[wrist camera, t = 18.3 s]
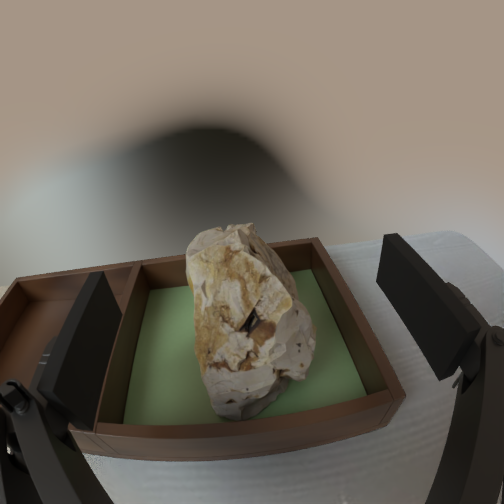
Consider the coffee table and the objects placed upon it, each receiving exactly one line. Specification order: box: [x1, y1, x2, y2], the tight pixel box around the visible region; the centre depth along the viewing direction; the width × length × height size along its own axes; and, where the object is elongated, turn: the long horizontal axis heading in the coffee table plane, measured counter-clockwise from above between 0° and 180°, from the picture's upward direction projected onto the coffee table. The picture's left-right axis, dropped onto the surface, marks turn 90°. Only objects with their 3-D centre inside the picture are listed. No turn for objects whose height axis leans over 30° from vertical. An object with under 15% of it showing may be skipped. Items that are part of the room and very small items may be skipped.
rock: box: [186, 223, 317, 421], centre depth 18 cm, size 12×7×10 cm, turn 1°
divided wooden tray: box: [0, 237, 406, 461], centre depth 19 cm, size 32×17×4 cm, turn 96°
